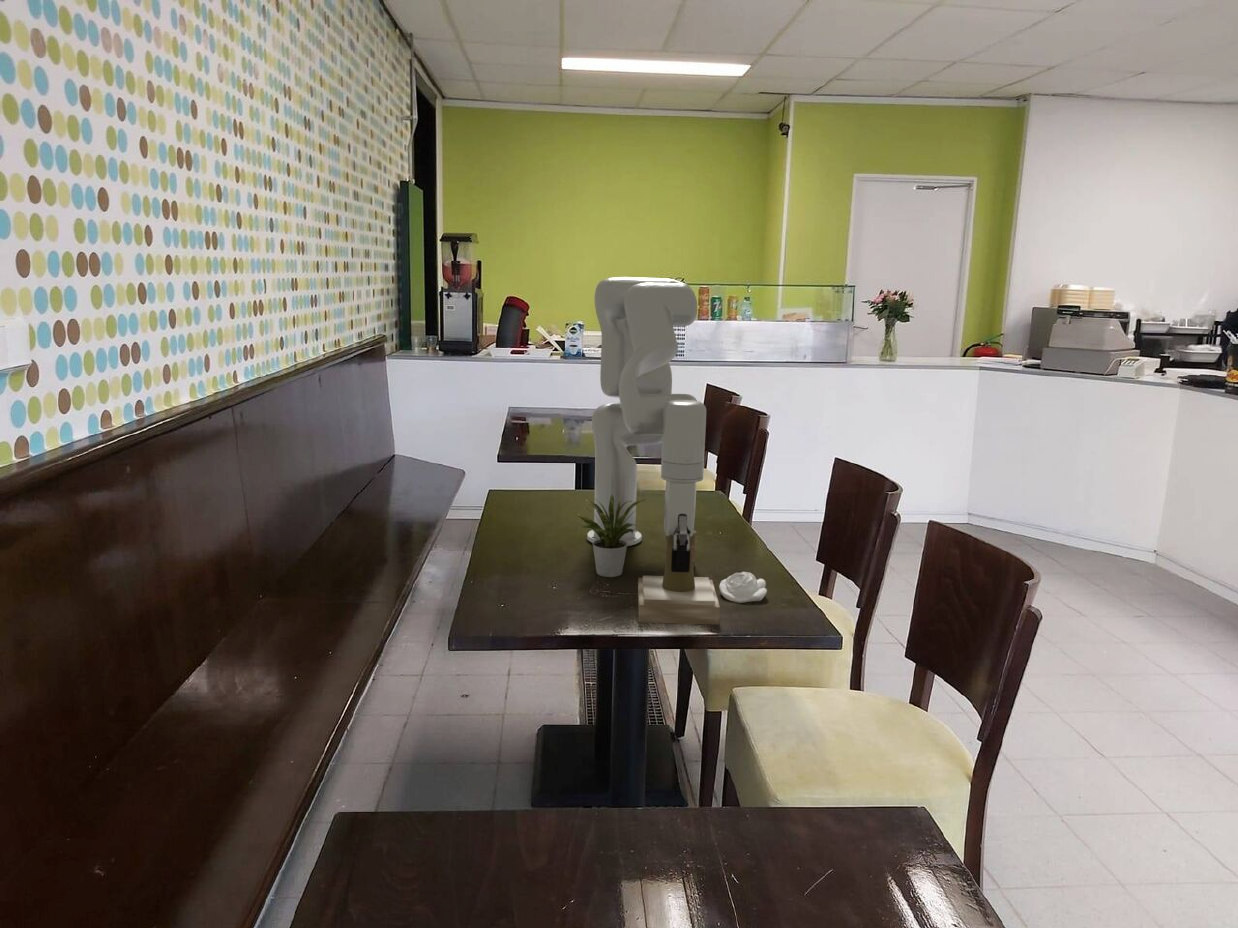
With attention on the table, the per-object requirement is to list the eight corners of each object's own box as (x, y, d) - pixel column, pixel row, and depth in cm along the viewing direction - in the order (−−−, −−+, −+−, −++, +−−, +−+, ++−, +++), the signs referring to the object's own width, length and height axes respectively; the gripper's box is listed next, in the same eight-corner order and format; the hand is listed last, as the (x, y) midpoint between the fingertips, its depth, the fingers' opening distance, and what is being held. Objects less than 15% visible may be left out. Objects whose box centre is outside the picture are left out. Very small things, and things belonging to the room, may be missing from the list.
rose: (779, 573, 165) (751, 585, 158) (778, 595, 166) (750, 608, 159) (736, 561, 172) (707, 572, 165) (735, 582, 173) (706, 594, 166)
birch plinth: (638, 593, 164) (638, 574, 164) (711, 595, 164) (712, 575, 164) (638, 622, 151) (639, 600, 150) (718, 624, 151) (720, 602, 150)
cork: (687, 594, 154) (690, 535, 151) (656, 588, 156) (658, 529, 154) (699, 584, 159) (702, 526, 157) (669, 578, 161) (671, 522, 159)
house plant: (622, 556, 187) (624, 483, 183) (660, 574, 175) (663, 497, 172) (565, 566, 179) (566, 490, 175) (601, 587, 168) (603, 505, 164)
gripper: (659, 459, 161) (656, 547, 164) (663, 480, 144) (659, 578, 147) (699, 460, 161) (695, 548, 164) (708, 481, 144) (703, 579, 147)
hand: (678, 562), depth 156 cm, fingers open, 9 cm apart
